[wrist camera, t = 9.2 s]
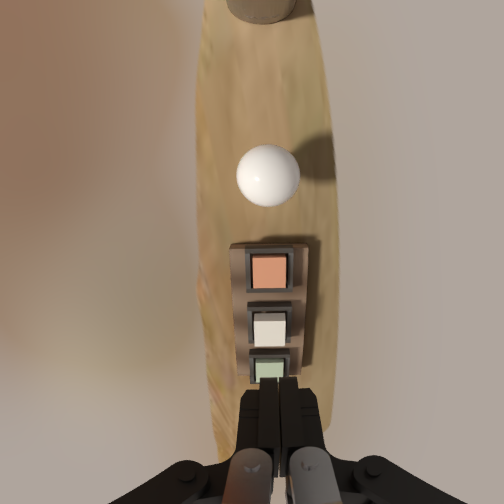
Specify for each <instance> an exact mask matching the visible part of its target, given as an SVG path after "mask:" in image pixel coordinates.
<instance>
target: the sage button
mask: <svg viewBox="0 0 504 504" xmlns="http://www.w3.org/2000/svg"><path fill="white" fill-rule="evenodd" d="M283 363H284V362H283V358H256V382H260V377H278V382H279V377H283Z"/></svg>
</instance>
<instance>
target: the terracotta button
mask: <svg viewBox="0 0 504 504" xmlns="http://www.w3.org/2000/svg"><path fill="white" fill-rule="evenodd" d="M253 288H286V255H285V253H258V254H253Z"/></svg>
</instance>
